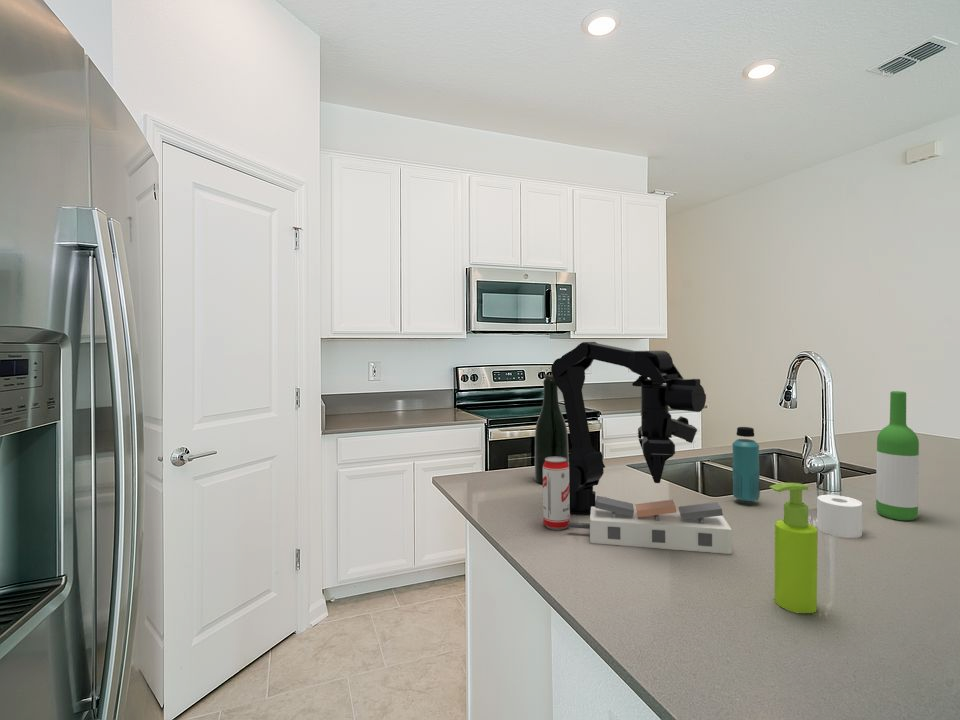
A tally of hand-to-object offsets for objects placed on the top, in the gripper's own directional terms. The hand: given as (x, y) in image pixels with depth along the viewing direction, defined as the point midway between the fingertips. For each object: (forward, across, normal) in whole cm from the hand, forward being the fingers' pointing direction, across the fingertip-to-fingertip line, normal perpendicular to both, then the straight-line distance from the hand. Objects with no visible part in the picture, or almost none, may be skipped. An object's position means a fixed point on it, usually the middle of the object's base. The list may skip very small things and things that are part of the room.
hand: (655, 477), depth 112 cm
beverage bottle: (+13, +27, -25) cm, 39 cm away
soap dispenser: (+13, -26, -19) cm, 35 cm away
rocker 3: (+7, -3, -9) cm, 12 cm away
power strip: (+13, -3, +2) cm, 14 cm away
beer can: (+13, +1, +22) cm, 26 cm away
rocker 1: (+7, -3, +9) cm, 12 cm away
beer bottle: (+13, +38, +27) cm, 48 cm away
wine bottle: (+13, +23, -57) cm, 63 cm away
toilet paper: (+13, +12, -41) cm, 45 cm away
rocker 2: (+7, -3, 0) cm, 8 cm away
